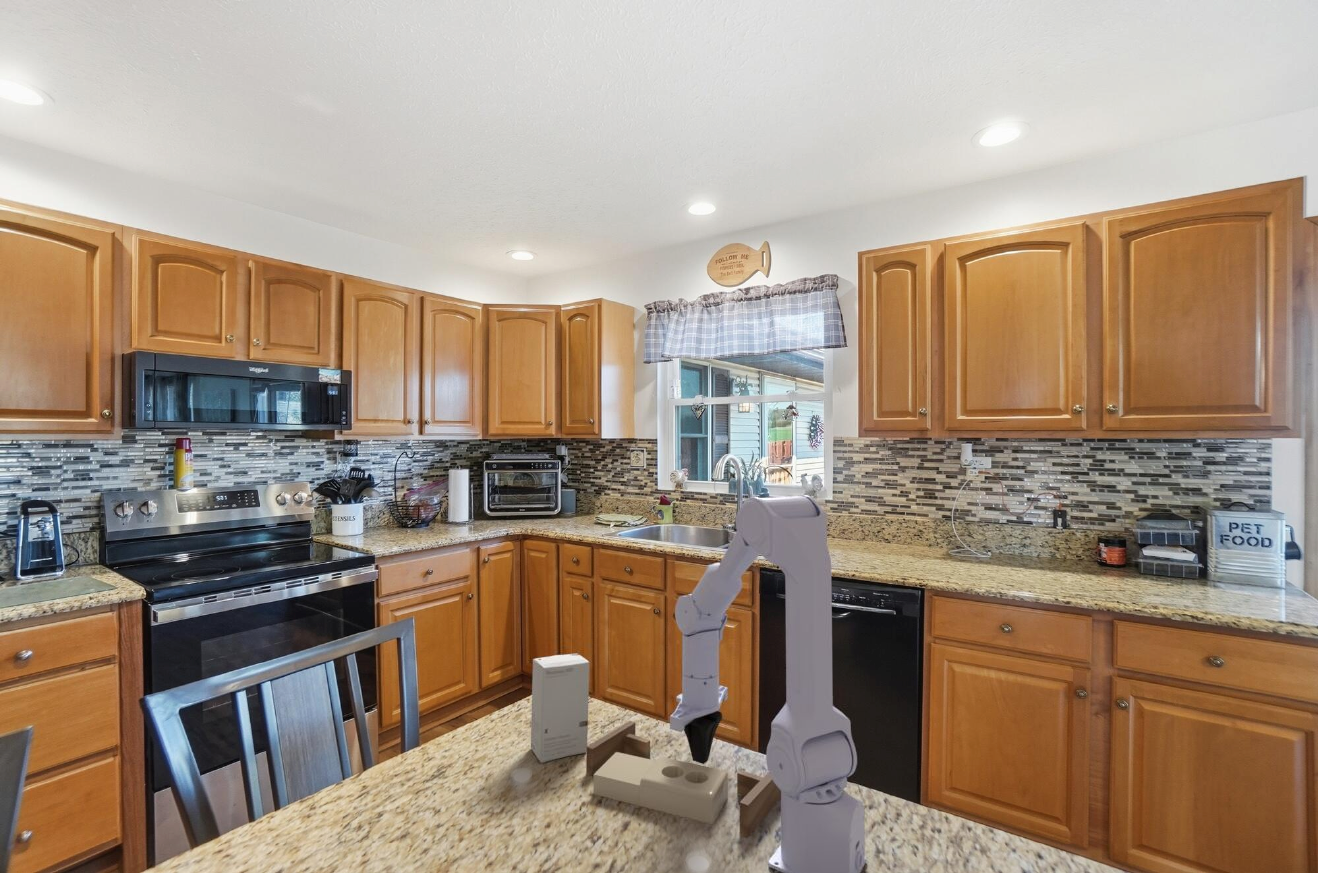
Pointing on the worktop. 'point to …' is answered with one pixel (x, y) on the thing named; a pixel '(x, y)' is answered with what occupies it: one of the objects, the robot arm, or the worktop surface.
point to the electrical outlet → (664, 785)
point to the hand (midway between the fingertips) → (700, 760)
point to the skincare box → (559, 706)
